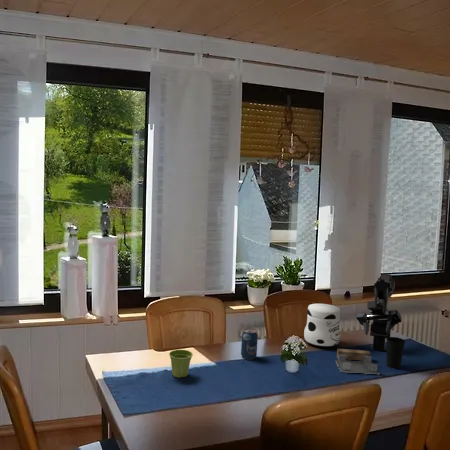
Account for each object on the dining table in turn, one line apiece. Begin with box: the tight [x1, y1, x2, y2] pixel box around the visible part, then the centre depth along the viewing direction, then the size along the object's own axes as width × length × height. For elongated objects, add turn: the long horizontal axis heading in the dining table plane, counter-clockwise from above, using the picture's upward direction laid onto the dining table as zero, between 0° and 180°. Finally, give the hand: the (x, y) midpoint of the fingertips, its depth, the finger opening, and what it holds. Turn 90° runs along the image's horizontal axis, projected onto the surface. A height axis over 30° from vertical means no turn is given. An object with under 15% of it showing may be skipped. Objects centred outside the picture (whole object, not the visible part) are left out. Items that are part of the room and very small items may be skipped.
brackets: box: [335, 355, 381, 376], centre depth 217 cm, size 12×16×4 cm
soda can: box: [240, 328, 259, 361], centre depth 224 cm, size 7×7×12 cm
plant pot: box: [168, 349, 194, 379], centre depth 201 cm, size 9×9×9 cm
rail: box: [336, 348, 371, 362], centre depth 228 cm, size 14×4×4 cm, turn 85°
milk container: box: [303, 303, 342, 348], centre depth 246 cm, size 17×17×18 cm
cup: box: [385, 336, 406, 369], centre depth 221 cm, size 8×8×12 cm
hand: (376, 333), depth 220 cm, fingers open, 9 cm apart
